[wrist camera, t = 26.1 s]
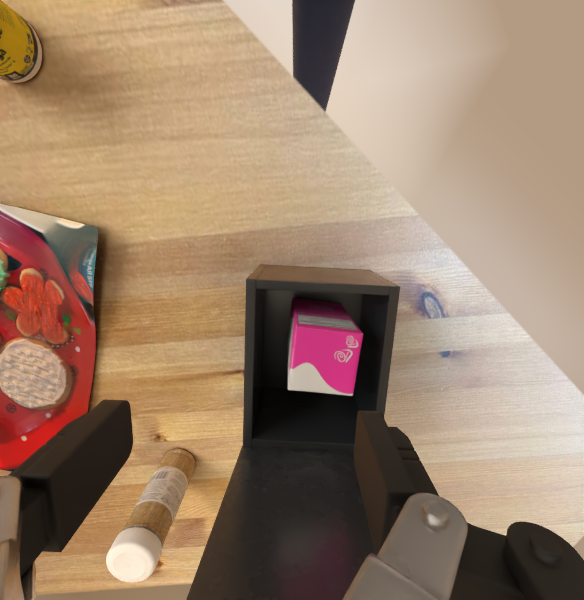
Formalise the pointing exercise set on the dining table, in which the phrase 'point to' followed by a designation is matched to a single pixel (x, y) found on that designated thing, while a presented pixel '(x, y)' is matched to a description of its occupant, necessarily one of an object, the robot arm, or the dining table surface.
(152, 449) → the dining table surface
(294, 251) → the dining table surface
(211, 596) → the bin lid
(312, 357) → the supplement box
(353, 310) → the bin
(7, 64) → the pill bottle
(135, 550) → the sprinkles bottle
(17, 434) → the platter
